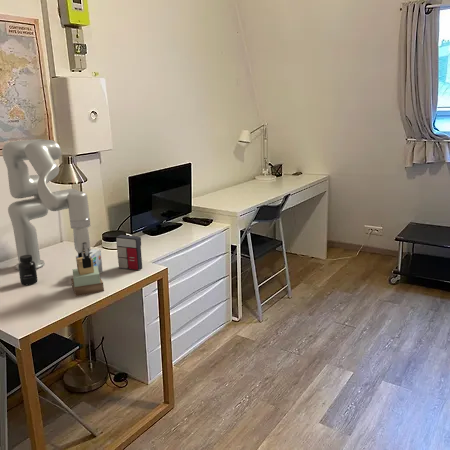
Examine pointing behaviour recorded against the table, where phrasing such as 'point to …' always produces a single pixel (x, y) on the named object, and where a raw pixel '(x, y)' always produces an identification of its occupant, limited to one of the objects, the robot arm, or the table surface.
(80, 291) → the walnut block
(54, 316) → the table surface
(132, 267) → the grey red box
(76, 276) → the sage block
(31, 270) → the supplement bottle
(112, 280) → the table surface
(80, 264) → the oak cube
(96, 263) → the light bulb box
